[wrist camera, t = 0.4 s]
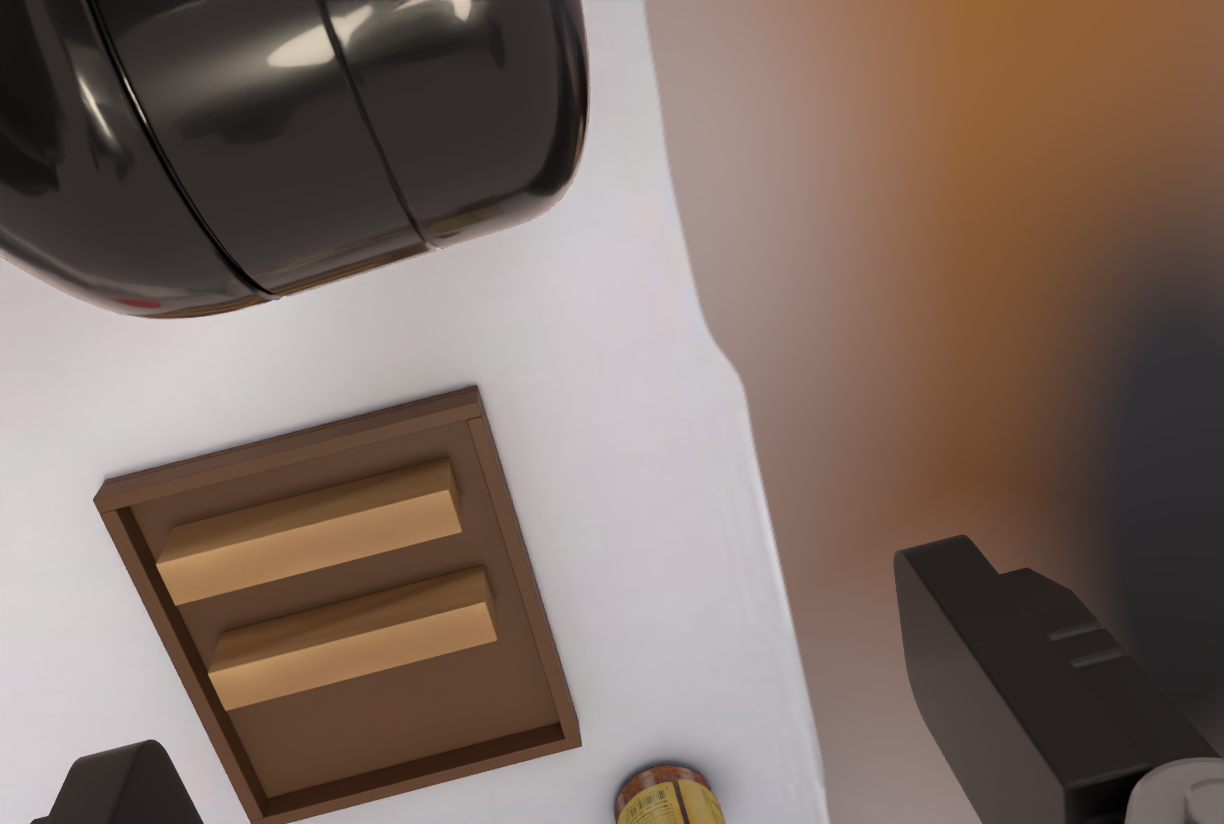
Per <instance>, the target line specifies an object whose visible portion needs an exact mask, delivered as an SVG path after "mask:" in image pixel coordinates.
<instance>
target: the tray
mask: <svg viewBox="0 0 1224 824" xmlns="http://www.w3.org/2000/svg"><path fill="white" fill-rule="evenodd" d="M447 457H449V458H450V461H451V464H452V467H453V470H454V473H455V476H456V479H457V482H458V486H459V489H460V492H461V495H462V532H460V533H456V534H452V535H448V536H445V537H441V538H437V539H433V540H429V541H425V542H421V543H417V544H413V545H410V546H406V547H402V548H398V549H394V550H390V551H386V552H382V553H378V554H375V555H371V556H367V557H363V558H359V559H355V560H351V561H347V562H344V563H340V564H336V565H332V566H328V567H324V568H320V569H316V570H312V571H309V572H305V573H301V574H297V575H293V576H289V577H285V578H281V579H277V580H274V581H270V582H266V583H262V584H258V585H254V586H250V587H246V588H242V589H239V590H235V591H231V592H227V593H223V594H219V595H215V596H211V597H208V598H204V599H200V600H196V601H192V602H188V603H184V604H180V605H176V606H175V604H174V602H173V600H172V598H171V596H170V594H169V591H168V589H167V587H166V585H165V583H164V581H163V579H162V577H161V575H160V572H159V570H158V568H157V566H156V563H157V561H158V559H159V557H160V555H161V553H162V550H163V548H164V546H165V544H166V542H167V540H168V538H169V536H170V534H171V532H172V529H173V528H174V527H177V526H181V525H185V524H189V523H193V522H197V521H201V520H204V519H208V518H212V517H216V516H220V515H224V514H228V513H232V512H236V511H240V510H244V509H247V508H251V507H255V506H259V505H263V504H267V503H271V502H275V501H279V500H283V499H287V498H290V497H294V496H298V495H302V494H306V493H310V492H314V491H318V490H322V489H326V488H329V487H333V486H337V485H341V484H345V483H349V482H353V481H357V480H361V479H365V478H369V477H372V476H376V475H380V474H384V473H388V472H392V471H396V470H400V469H404V468H408V467H412V466H415V465H419V464H423V463H427V462H431V461H435V460H439V459H443V458H447ZM93 501H94V503H95V505H96V507H97V510H98V512H99V513H100V516H101V518H102V520H103V522H104V524H105V526H106V528H107V530H108V532H109V534H110V536H111V538H112V540H113V542H114V544H115V546H116V548H117V550H118V552H119V554H120V556H121V559H122V561H123V563H124V565H125V567H126V569H127V571H128V573H129V575H130V577H131V579H132V581H133V583H134V585H135V587H136V589H137V591H138V593H139V595H140V597H141V599H142V601H143V604H144V606H145V608H146V610H147V612H148V614H149V616H150V618H151V620H152V622H153V624H154V626H155V628H156V630H157V632H158V634H159V636H160V638H161V640H162V642H163V644H164V647H165V649H166V651H167V653H168V655H169V657H170V659H171V661H172V663H173V665H174V667H175V669H176V671H177V673H178V675H179V677H180V679H181V681H182V683H183V685H184V687H185V689H186V692H187V694H188V696H189V698H190V700H191V702H192V704H193V706H194V708H195V710H196V712H197V714H198V716H199V718H200V720H201V722H202V724H203V726H204V728H205V730H206V732H207V735H208V737H209V739H210V741H211V743H212V745H213V747H214V749H215V751H216V753H217V755H218V757H219V759H220V761H221V763H222V765H223V767H224V769H225V771H226V773H227V775H228V777H229V780H230V782H231V784H232V786H233V788H234V790H235V792H236V794H237V796H238V798H239V800H240V802H241V804H242V806H243V808H244V810H245V812H246V814H247V816H248V818H249V820H250V823H251V824H287V823H291V822H295V821H298V820H302V819H306V818H310V817H314V816H317V815H321V814H325V813H329V812H333V811H337V810H340V809H344V808H348V807H352V806H356V805H359V804H363V803H367V802H371V801H375V800H379V799H382V798H386V797H390V796H394V795H398V794H401V793H405V792H409V791H413V790H417V789H421V788H424V787H428V786H432V785H436V784H440V783H443V782H447V781H451V780H455V779H459V778H462V777H466V776H470V775H474V774H478V773H482V772H485V771H489V770H493V769H497V768H501V767H504V766H508V765H512V764H516V763H520V762H524V761H527V760H531V759H535V758H539V757H543V756H546V755H550V754H554V753H558V752H562V751H566V750H569V749H573V748H577V747H581V746H582V742H581V735H580V728H579V722H578V719H577V715H576V712H575V709H574V705H573V702H572V699H571V695H570V692H569V689H568V685H567V682H566V679H565V675H564V672H563V669H562V665H561V662H560V659H559V655H558V652H557V649H556V645H555V642H554V639H553V635H552V632H551V629H550V625H549V622H548V619H547V615H546V612H545V609H544V605H543V602H542V599H541V595H540V592H539V589H538V585H537V582H536V579H535V575H534V572H533V569H532V565H531V562H530V559H529V555H528V552H527V549H526V545H525V542H524V539H523V536H522V532H521V529H520V526H519V522H518V519H517V516H516V512H515V509H514V506H513V502H512V499H511V496H510V492H509V489H508V486H507V482H506V479H505V476H504V472H503V469H502V466H501V462H500V459H499V456H498V452H497V449H496V446H495V442H494V439H493V436H492V432H491V429H490V426H489V422H488V419H487V416H486V412H485V409H484V406H483V402H482V399H481V396H480V392H479V389H478V386H475V387H471V388H467V389H463V390H459V391H455V392H451V393H447V394H443V395H439V396H435V397H431V398H427V399H424V400H420V401H416V402H412V403H408V404H404V405H400V406H396V407H392V408H388V409H384V410H380V411H376V412H373V413H369V414H365V415H361V416H357V417H353V418H349V419H345V420H341V421H337V422H333V423H329V424H325V425H321V426H318V427H314V428H310V429H306V430H302V431H298V432H294V433H290V434H286V435H282V436H278V437H274V438H270V439H266V440H263V441H259V442H255V443H251V444H247V445H243V446H239V447H235V448H231V449H227V450H223V451H219V452H215V453H212V454H208V455H204V456H200V457H196V458H192V459H188V460H184V461H180V462H176V463H172V464H168V465H164V466H160V467H157V468H153V469H149V470H145V471H141V472H137V473H133V474H129V475H125V476H121V477H117V478H113V479H109V480H105V481H104V483H103V485H102V486H101V488H100V489H99V491H98V493H97V494H96V496H95V497H94V499H93ZM482 565H484V566H485V569H486V573H487V576H488V579H489V582H490V585H491V588H492V591H493V594H494V597H495V601H496V616H497V636H498V640H497V641H493V642H489V643H485V644H482V645H478V646H474V647H470V648H466V649H462V650H458V651H455V652H451V653H447V654H443V655H439V656H435V657H432V658H428V659H424V660H420V661H416V662H412V663H408V664H405V665H401V666H397V667H393V668H389V669H385V670H381V671H378V672H374V673H370V674H366V675H362V676H358V677H354V678H351V679H347V680H343V681H339V682H335V683H331V684H328V685H324V686H320V687H316V688H312V689H308V690H304V691H301V692H297V693H293V694H289V695H285V696H281V697H277V698H274V699H270V700H266V701H262V702H258V703H254V704H250V705H247V706H243V707H239V708H235V709H231V710H227V711H225V709H224V707H223V705H222V703H221V701H220V699H219V697H218V695H217V692H216V690H215V688H214V686H213V684H212V682H211V680H210V678H209V676H208V672H209V669H210V666H211V663H212V660H213V657H214V654H215V651H216V648H217V645H218V642H219V639H220V636H221V633H223V632H226V631H230V630H234V629H238V628H242V627H246V626H250V625H253V624H257V623H261V622H265V621H269V620H273V619H277V618H280V617H284V616H288V615H292V614H296V613H300V612H304V611H308V610H311V609H315V608H319V607H323V606H327V605H331V604H335V603H339V602H342V601H346V600H350V599H354V598H358V597H362V596H366V595H370V594H373V593H377V592H381V591H385V590H389V589H393V588H397V587H401V586H404V585H408V584H412V583H416V582H420V581H424V580H428V579H432V578H435V577H439V576H443V575H447V574H451V573H455V572H459V571H463V570H466V569H470V568H474V567H478V566H482Z"/></svg>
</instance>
